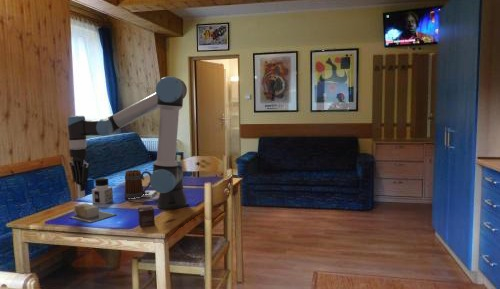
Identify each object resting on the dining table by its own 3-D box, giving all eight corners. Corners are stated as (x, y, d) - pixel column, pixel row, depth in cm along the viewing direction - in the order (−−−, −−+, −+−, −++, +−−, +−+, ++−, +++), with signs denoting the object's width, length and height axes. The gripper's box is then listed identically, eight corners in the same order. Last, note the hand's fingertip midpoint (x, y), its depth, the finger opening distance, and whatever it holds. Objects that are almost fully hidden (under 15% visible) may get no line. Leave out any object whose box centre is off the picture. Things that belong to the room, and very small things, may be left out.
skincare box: (85, 202, 188) (99, 206, 181) (86, 211, 189) (99, 215, 181) (73, 205, 183) (86, 209, 176) (73, 214, 184) (86, 218, 176)
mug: (122, 200, 212) (120, 173, 211) (127, 195, 223) (125, 169, 221) (151, 198, 213) (149, 172, 212) (154, 194, 224) (153, 169, 222)
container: (105, 204, 204) (103, 179, 203) (92, 203, 206) (90, 179, 204) (113, 200, 212) (112, 177, 210) (100, 200, 213) (99, 176, 212)
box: (152, 222, 171) (151, 205, 170) (155, 225, 166) (154, 209, 165) (138, 223, 169) (137, 207, 168) (140, 227, 163) (139, 210, 163)
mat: (116, 215, 183) (116, 214, 183) (90, 223, 171) (90, 222, 171) (95, 210, 191) (95, 209, 191) (69, 218, 180) (69, 216, 180)
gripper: (93, 148, 182) (96, 197, 184) (77, 147, 189) (80, 194, 191) (79, 149, 176) (82, 200, 178) (62, 148, 183) (66, 197, 185)
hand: (81, 197), depth 185 cm, fingers closed
